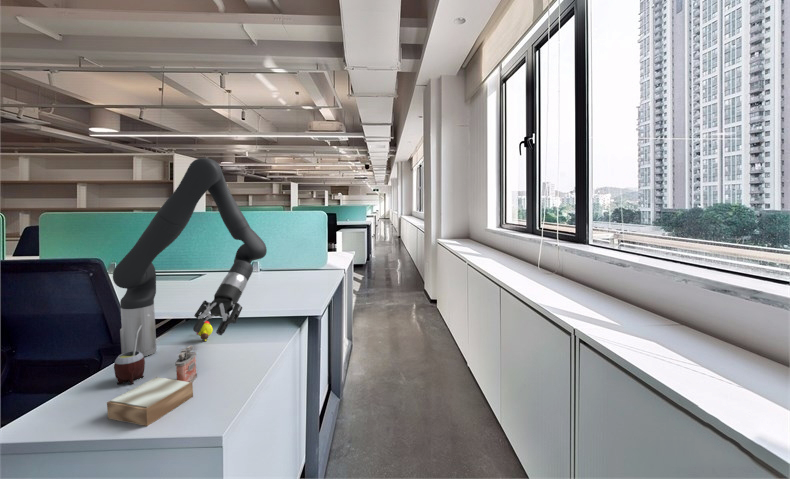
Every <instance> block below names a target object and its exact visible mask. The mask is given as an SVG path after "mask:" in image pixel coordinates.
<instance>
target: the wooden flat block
mask: <svg viewBox="0 0 790 479" xmlns="http://www.w3.org/2000/svg"><path fill="white" fill-rule="evenodd" d="M193 386H194V385H193V383H192V382H186V381H179V380H177V379H172V378H165V377H160V376H159V377H158V376H156V377H154V378H152V379H150V380H148V381H146V382H144V383H142V384H139V385H138V386H136V387H133V388H132V389H130V390H129V391H126V392H124V393H123V394H120V395H118V396H116V397H114V398H113V399H111V400H109V401H107V402H106V408H107V419H110V420H114V421H120V422H125V423H131V424H136V425H138V426H139V425H140V426H146V427H149V426H150V425H151V424H153V423H155V422H156V421H158V420H159V419H161V418H162V417H164V416H166V415H167V414H168V413H170V412H172V411H173V410H175V409H176V408H178V407H179V406H182V405H183V404H184V403H186V402H188V401H189V400H191V399H192V398H194V390H193V388H194V387H193Z"/></svg>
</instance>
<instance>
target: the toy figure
mask: <svg viewBox="0 0 790 479" xmlns="http://www.w3.org/2000/svg"><path fill="white" fill-rule="evenodd" d="M213 330H214V329H213V326H212V325H211V322H210V321H209V320H207V321H205V323H204V325H203V327H202V329H201V330H200V332H199V333H196V332H195V333H196V335H197V336H198V337H200V339H201V340H202V342H207V341H208V339H209V336H210V335H212V333H213Z"/></svg>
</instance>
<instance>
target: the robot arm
mask: <svg viewBox="0 0 790 479" xmlns="http://www.w3.org/2000/svg"><path fill="white" fill-rule="evenodd" d="M206 192H208V193H209V195H210V196H211V197H212V200H213V201H214V203H215V205H216V207H217V210H218V213H219V214H220V215H219V216H220V217H221V219H222V222H223V224H224V226H225V228H226V229H227V231H228V232H229V234H230V236H231V237H232V238H233V239H234V240H236V241H241V242H242V244H241V245H240V246H239V247H238V248H237V251H236V253H235V256H234V260H233V263H232V266H231V267H230V269H229V270H228V272H227V274H226V275H225V277H224V278H223V280H222V281H221V283H220V284H219V287H218V288H217V290H216V291H215V294H214V295H213V296H214V297H213V300H212V301H211V302H208V301H207V300H203V301H202V303H201V304H200V306H199V307H198V309H197V310H196V311H195V313H194V315H193V316H194V317H195V318H196V319H197V321H196V322H195V324H194V326H193V330H192V331H193V332H194V333H199V332H200V330H201V329H202V327H203V325H204V323H205V321H209V319H213V318H214V317H220V318H222V321H221V322H220V323H219V326H218V328H217V329H216V332H215V333H216V334H217V335H218V336H222V335H223V334H224V333H225V332H226V330H227V328H228V326H229V325H230V324H236V323H237V321H238V319H239V317H240V314H241V312H242V310H243V306H242V305H241V304H240V303H239V300H240V298H241V297H242V295H243V293H244V290H245V289H246V287H247V284H248V281H249V279H250V278H251V276H252V274H253V272H254V267H253V265H252V264H251V263H252V262H253V261H257V260H261V259H263V258H264V257H265V256H266V255H267V251H268V250H267V246H266V243H265V241H263V239H262V238H261V237H260V236H259V235H258V233H256V232H255V231H254V230H253V229H252V228H251V226H250V224H249V223H248V220H247V219H246V217H245V215H244V213H243V212H242V210H241V208H240V207H239V205H238V204H237V202H236V200H235V198H234V196H233V195H232V193H231V190H230V188H229V187H228V184H227V181H226V178H225V176H224V173H223V171H222V168H221V165H220V164H219V163H218V162H217V161H215V159H211V158H206V157H200V158H196V159H194V160H193V161H192V162H191V163H190V164H189V166H188V168H187V169H186V171H185V173H184V176H183V177H182V179H181V180H180V182H179V184H178V185H177V188H176V189H175V190H174V191H173V192H172V194H171V195H170V196H169V197H168V199H166V201H165V202H164V203H163V204H162V205H161V207H160V208H159V209H158V211H157V212H156V214H154V216H153V218H152V219H151V221H150V222H149V224H148V225H147V227H146V228H145V230H144V231H143V233H142V234H141V235H140V237H139V238H138V240H137V241H136V243H135V244H134V245H133V247H132V248H131V249H130V250H129V251H128V253H127V254H126V255H124V257H123V258H122V259H121V260H120V261H119V262H118V264H116V266H115V268H114V269H113V272H112V281H113V283H114V284H115V285H116V286H117V287H118V288H121V289H126V291H125V294H124V295H123V296H122V297H121V299H120V302H119V303H120V305H119V306H120V319H121V320H120V322H121V328H120V329H119V334H120V335H119V336H120V349H121V352H120V353H121V354H123V353H126V352H131V351H133V350H134V343H135V335H136V333H137V330H138V328H139V327H140V325H142V327H141V329H140V331H139V333H138V338H137V345H136V351H138V352H140V353H142V354H143V356H147V357H149V356H148V355H150V354H152V355H153V353H154V354H155V353H157V351H156V350H157V336H156V335H157V334H156V316H155V297H156V294H157V273H156V272H157V271H156V269H155V268H156V267H155V265H154V264H153V261H154V260H155V259H156V258H157V257H158V255H160V254H161V253H162V252H163V251H165V249H166V248H168V247H169V246H170V245H171V244H173V243H174V242H175V240H177V239H178V237H179V236H180V235H181V234H182V233H183V231H184V229H185V228H186V227H187V225H188V223H189V221H190V220H191V218H192V215H193V214H194V211H195V209H196V207H197V205H198V203H199V201H200V199H201V198H202V197H203V196H204V195H205V194H206ZM150 356H151V355H150Z"/></svg>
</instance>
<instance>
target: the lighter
mask: <svg viewBox="0 0 790 479" xmlns="http://www.w3.org/2000/svg"><path fill="white" fill-rule="evenodd" d="M193 350H194V346H193V345H188V346H187V347H186V348H185V349H181V350H180V353H178V359H176V361H175V363H174V364H175V368H176V370H175V372H176V380H179V381H186V382H192V384H193V383H194V382H195V381H196V380H197V379H198V373H197V362H196V361H197V359H196V358H197V352H196V351H193Z"/></svg>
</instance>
